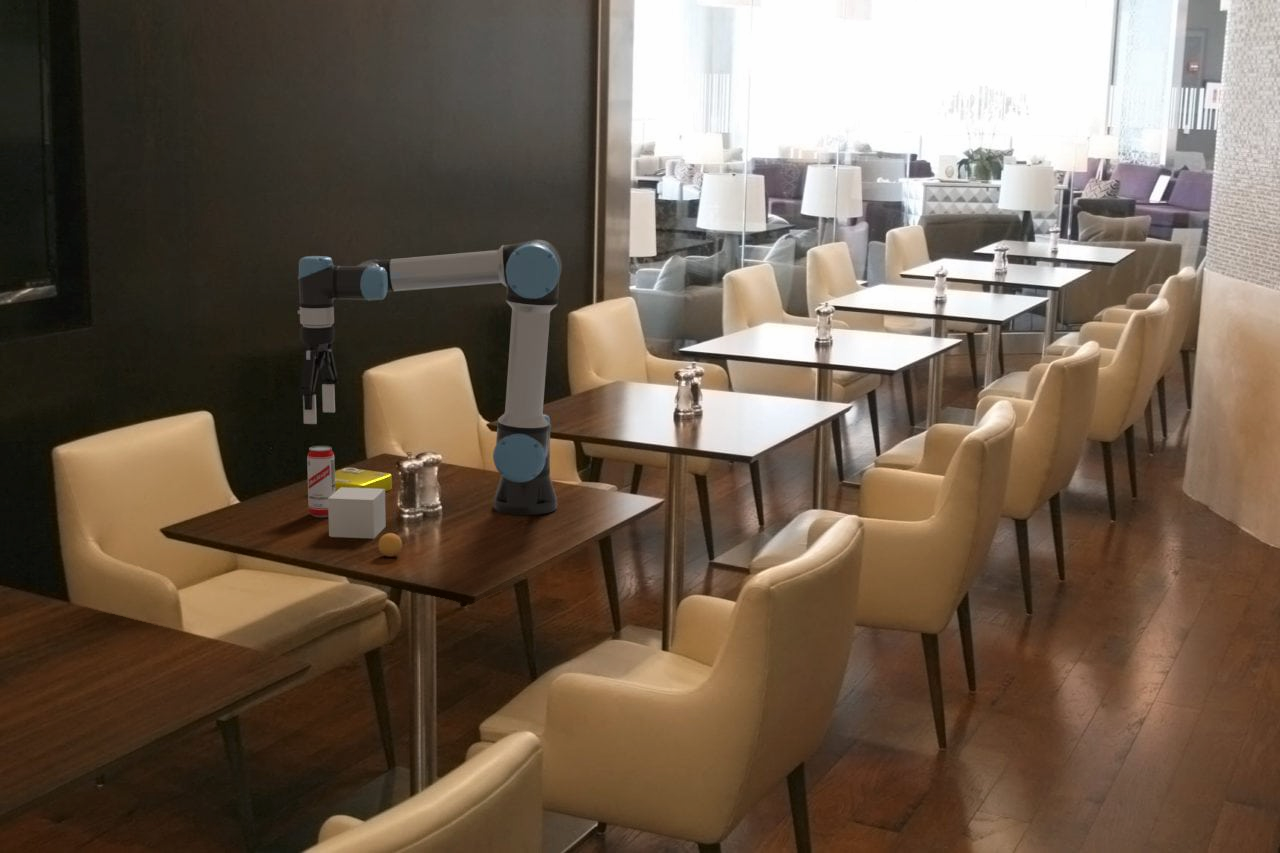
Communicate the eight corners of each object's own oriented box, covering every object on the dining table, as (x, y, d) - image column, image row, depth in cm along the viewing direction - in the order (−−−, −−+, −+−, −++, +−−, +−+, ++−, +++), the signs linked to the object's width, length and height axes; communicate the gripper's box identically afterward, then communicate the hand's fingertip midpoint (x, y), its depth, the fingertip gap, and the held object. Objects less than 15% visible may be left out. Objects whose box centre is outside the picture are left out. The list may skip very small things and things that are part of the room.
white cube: (385, 526, 341) (384, 488, 340) (374, 538, 331) (373, 500, 330) (341, 524, 342) (340, 487, 340) (329, 536, 332) (328, 498, 330)
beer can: (332, 518, 347) (330, 451, 344) (305, 517, 347) (303, 450, 344) (338, 511, 353) (336, 445, 350) (312, 511, 354) (310, 444, 350)
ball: (404, 553, 320) (404, 530, 319) (399, 560, 316) (398, 537, 315) (381, 552, 321) (381, 529, 320) (375, 559, 316) (375, 536, 315)
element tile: (309, 496, 369) (309, 477, 368) (346, 483, 383) (346, 465, 382) (359, 503, 363) (359, 484, 362) (395, 490, 376) (395, 471, 375)
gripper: (318, 317, 350) (320, 406, 354) (282, 332, 326) (285, 427, 330) (349, 318, 349) (351, 408, 353) (315, 333, 325) (318, 429, 329)
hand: (319, 417), depth 342 cm, fingers open, 13 cm apart
